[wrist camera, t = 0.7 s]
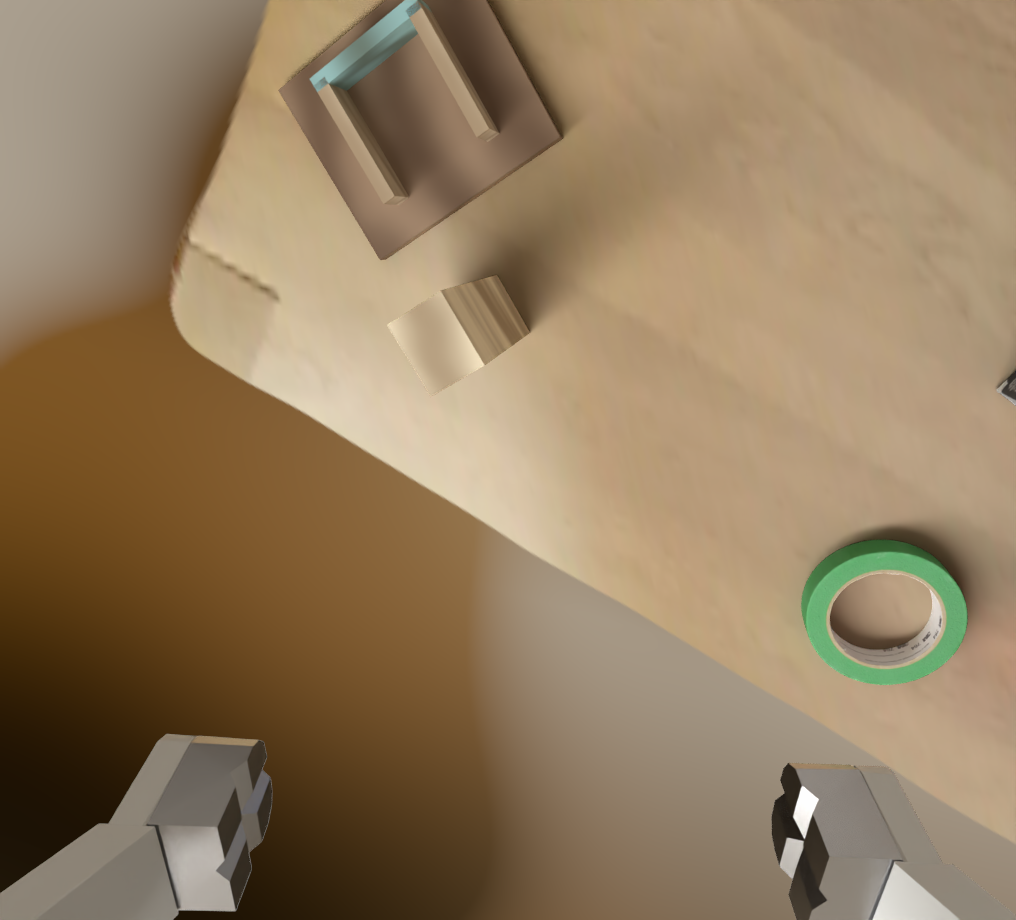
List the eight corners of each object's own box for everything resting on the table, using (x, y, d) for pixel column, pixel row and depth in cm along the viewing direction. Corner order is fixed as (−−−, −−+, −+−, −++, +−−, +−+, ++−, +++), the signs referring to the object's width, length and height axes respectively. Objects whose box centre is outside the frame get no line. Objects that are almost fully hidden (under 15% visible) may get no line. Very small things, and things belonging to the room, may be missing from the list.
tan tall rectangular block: (496, 274, 56) (440, 290, 43) (530, 332, 57) (484, 365, 44) (454, 301, 57) (386, 325, 44) (487, 357, 58) (430, 396, 45)
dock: (459, -51, 50) (440, -74, 46) (562, 138, 52) (553, 132, 48) (286, 92, 55) (256, 83, 51) (386, 259, 58) (364, 261, 54)
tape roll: (892, 509, 55) (902, 523, 53) (988, 614, 56) (1002, 632, 53) (770, 593, 59) (774, 609, 57) (861, 689, 60) (869, 710, 57)
